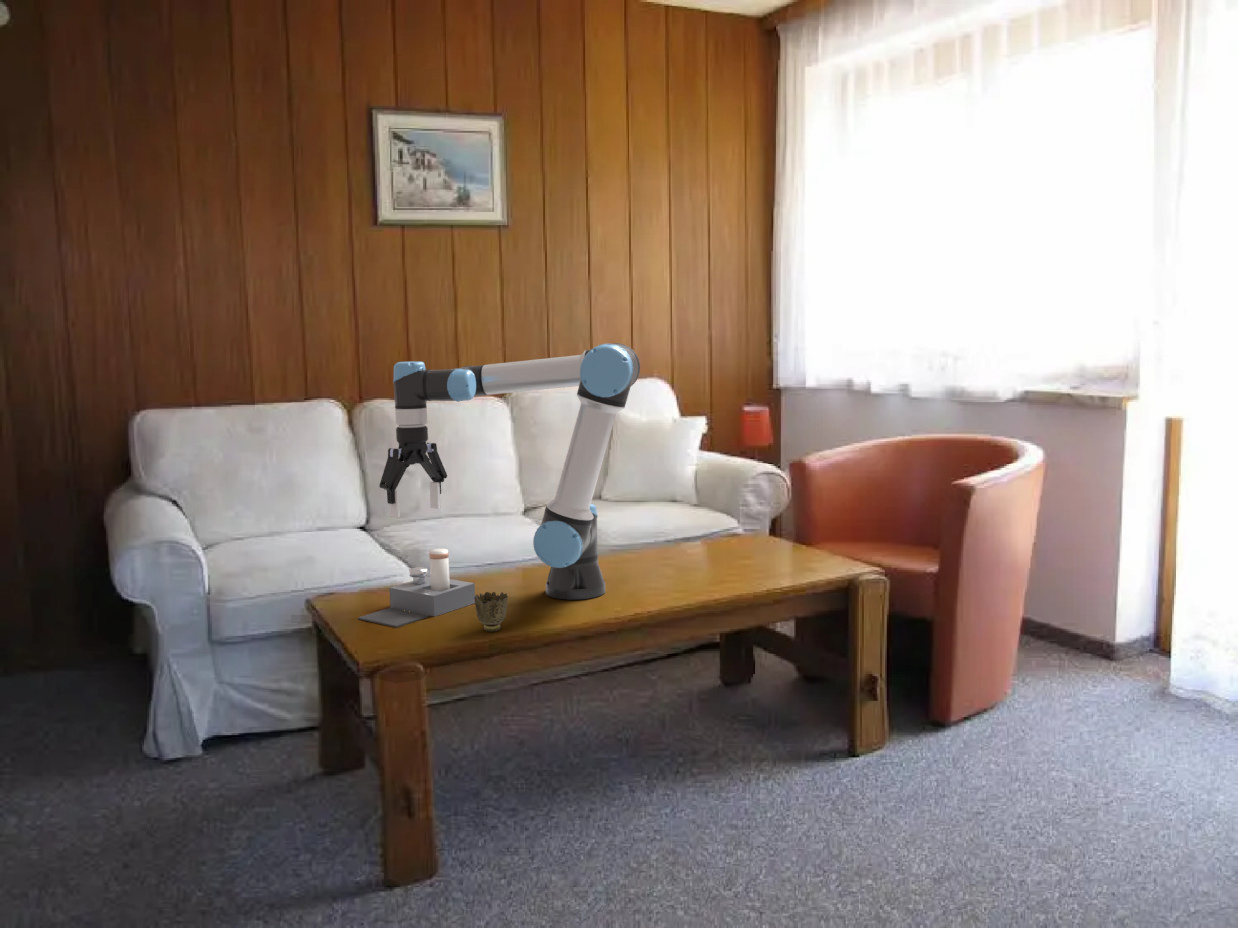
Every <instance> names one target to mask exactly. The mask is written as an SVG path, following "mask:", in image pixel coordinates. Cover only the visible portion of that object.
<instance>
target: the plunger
mask: <svg viewBox="0 0 1238 928" xmlns="http://www.w3.org/2000/svg"><path fill="white" fill-rule="evenodd" d="M428 572H429V569H428V568H427V567H425V566H424V567H423V566H419V567H418V566H417V567H411V568H409V577H410V578H412V581H413V584H417V585H420V584H424V583H425V577H428V575H429V573H428Z"/></svg>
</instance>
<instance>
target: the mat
mask: <svg viewBox="0 0 1238 928" xmlns="http://www.w3.org/2000/svg"><path fill="white" fill-rule="evenodd" d="M427 618H429V615H424V614H419V613H414V612H409V611H404V610H399V609H394V608H390V607H387V608H384V609H381V610H378V611H374V612H371V613H368V614H365V615H361V616H358V617H357V619H358V620H360V621H365V622H370V623H374V624H379V625H383V626H387V627H391V628H397V629H398V628H400V627H403V626H405V625H408V624H411V623H415V622H417V621H418V622H419V621H421V620H423V619H427Z"/></svg>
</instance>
